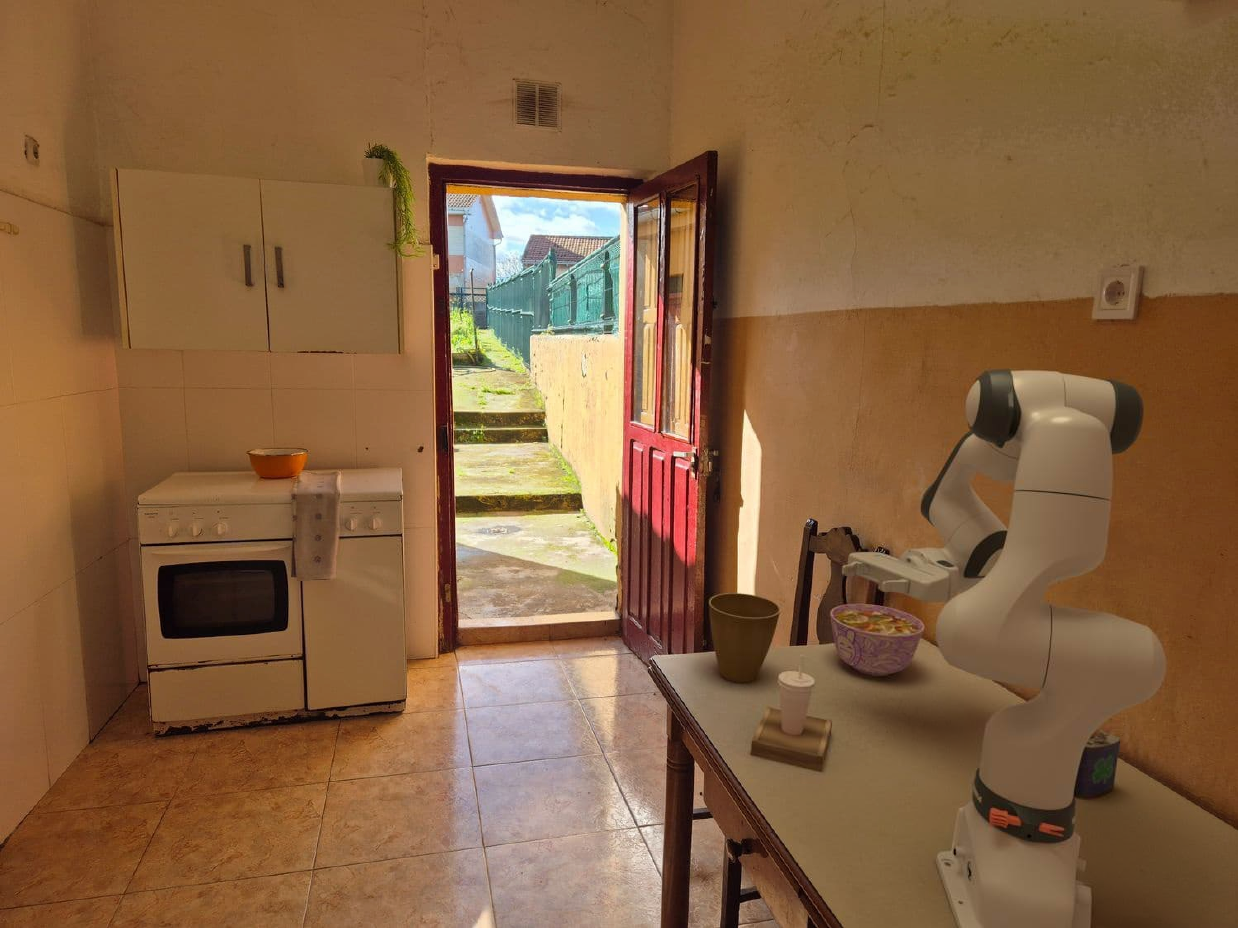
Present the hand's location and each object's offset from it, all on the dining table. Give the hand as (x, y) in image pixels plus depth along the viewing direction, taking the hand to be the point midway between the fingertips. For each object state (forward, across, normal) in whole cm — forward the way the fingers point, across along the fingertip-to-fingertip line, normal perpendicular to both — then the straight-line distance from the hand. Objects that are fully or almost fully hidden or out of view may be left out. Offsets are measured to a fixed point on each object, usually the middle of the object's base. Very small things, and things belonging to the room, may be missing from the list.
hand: (862, 578), depth 138 cm
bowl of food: (-25, -22, +30) cm, 45 cm away
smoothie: (+12, -1, +27) cm, 30 cm away
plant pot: (+6, -28, +30) cm, 41 cm away
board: (+12, 0, +30) cm, 32 cm away
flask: (-27, +29, +30) cm, 49 cm away
